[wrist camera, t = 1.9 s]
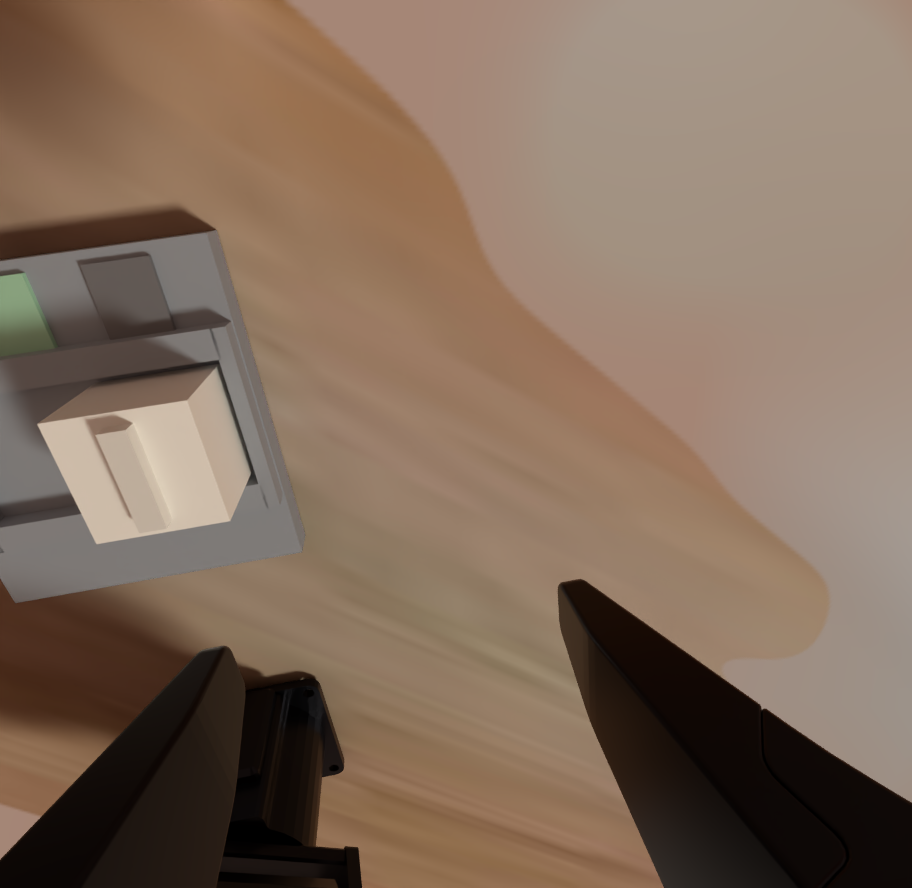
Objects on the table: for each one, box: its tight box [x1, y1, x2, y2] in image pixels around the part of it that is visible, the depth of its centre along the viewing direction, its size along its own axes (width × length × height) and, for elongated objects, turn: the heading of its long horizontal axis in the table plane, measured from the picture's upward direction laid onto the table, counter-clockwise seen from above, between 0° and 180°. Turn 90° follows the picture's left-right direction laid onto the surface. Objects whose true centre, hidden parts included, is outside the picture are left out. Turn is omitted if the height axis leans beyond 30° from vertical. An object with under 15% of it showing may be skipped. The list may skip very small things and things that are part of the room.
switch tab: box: [37, 364, 253, 544], centre depth 17 cm, size 4×4×4 cm
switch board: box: [0, 230, 305, 603], centre depth 19 cm, size 12×11×2 cm
